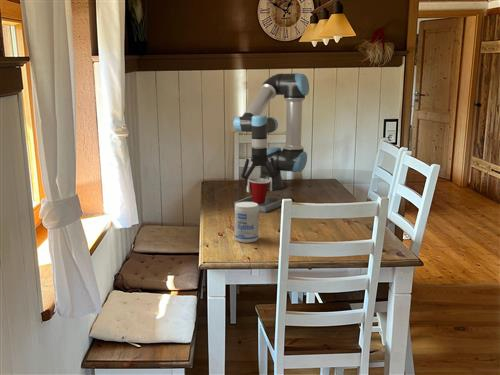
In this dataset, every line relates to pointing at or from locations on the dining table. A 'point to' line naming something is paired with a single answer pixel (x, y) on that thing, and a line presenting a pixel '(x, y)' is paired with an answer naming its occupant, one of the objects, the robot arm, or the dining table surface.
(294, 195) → the dining table surface
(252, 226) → the supplement tub
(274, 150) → the robot arm
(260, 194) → the plastic cup
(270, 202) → the tray
